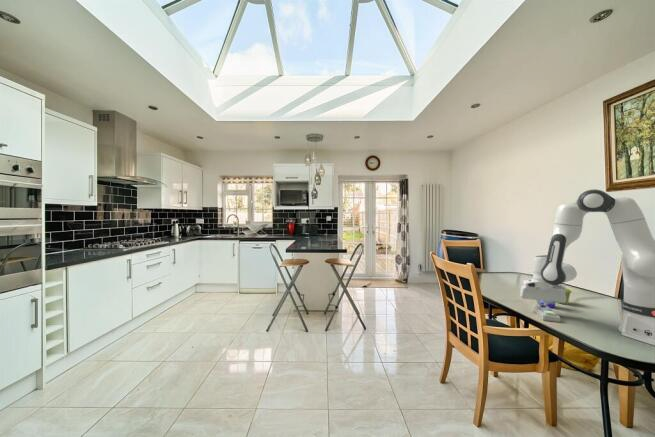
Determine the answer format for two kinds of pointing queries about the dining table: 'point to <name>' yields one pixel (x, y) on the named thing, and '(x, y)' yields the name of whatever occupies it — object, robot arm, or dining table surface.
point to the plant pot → (566, 296)
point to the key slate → (545, 309)
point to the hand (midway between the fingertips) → (542, 308)
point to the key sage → (549, 313)
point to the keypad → (546, 317)
